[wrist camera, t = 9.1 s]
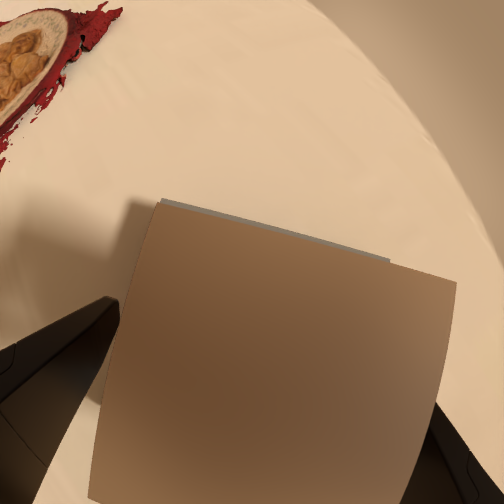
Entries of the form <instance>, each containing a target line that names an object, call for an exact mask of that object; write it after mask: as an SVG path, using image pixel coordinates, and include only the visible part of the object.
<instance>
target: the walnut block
mask: <svg viewBox="0 0 504 504" xmlns="http://www.w3.org/2000/svg"><path fill="white" fill-rule="evenodd" d="M456 284H457V282H454V281H451V280H447V279H444V278H441V277H437V276H434V275H430V274H427V273H424V272H420V271H417V270H413V269H410V268H406V267H403V266H399V265H396V264H392V263H389V262H385V261H382V260H378V259H375V258H371V257H368V256H364V255H360V254H357V253H353V252H350V251H346V250H342V249H339V248H335V247H331V246H328V245H324V244H320V243H317V242H313V241H309V240H305V239H302V238H298V237H294V236H290V235H286V234H283V233H279V232H275V231H271V230H267V229H263V228H260V227H256V226H252V225H248V224H244V223H240V222H236V221H232V220H228V219H224V218H220V217H216V216H212V215H208V214H204V213H200V212H196V211H192V210H188V209H184V208H179V207H175V206H171V205H167V204H163V203H159V202H157V205H156V207H155V210H154V213H153V216H152V219H151V221H150V224H149V227H148V230H147V233H146V236H145V239H144V242H143V245H142V248H141V251H140V254H139V258H138V261H137V264H136V267H135V270H134V274H133V277H132V280H131V284H130V287H129V291H128V294H127V298H126V301H125V305H124V308H123V312H122V316H121V320H120V323H119V327H118V331H117V335H116V339H115V343H114V347H113V351H112V356H111V360H110V364H109V369H108V373H107V378H106V383H105V388H104V392H103V397H102V403H101V408H100V413H99V419H98V425H97V431H96V437H95V443H94V450H93V457H92V464H91V472H90V481H89V490H88V498H89V499H91V500H94V501H96V502H98V503H100V504H399V503H400V501H401V499H402V496H403V494H404V492H405V489H406V487H407V485H408V482H409V480H410V477H411V475H412V472H413V470H414V467H415V464H416V462H417V459H418V456H419V453H420V450H421V448H422V445H423V442H424V439H425V435H426V432H427V429H428V426H429V423H430V419H431V416H432V412H433V409H434V405H435V401H436V398H437V394H438V390H439V386H440V381H441V377H442V373H443V368H444V363H445V359H446V353H447V348H448V343H449V337H450V331H451V324H452V318H453V310H454V303H455V294H456Z"/></svg>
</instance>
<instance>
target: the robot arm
mask: <svg viewBox="0 0 504 504" xmlns="http://www.w3.org/2000/svg"><path fill="white" fill-rule="evenodd" d="M119 323H120V311H119V302H118V300H117V299H115V298H112V297H109V296H104V297H102V298H100V299H98V300H96V301H94V302H92V303H91V304H89V305H87V306H85V307H83V308H81V309H79V310H77V311H75V312H73V313H71V314H69V315H67V316H65V317H63V318H61V319H59V320H58V321H56V322H54V323H52V324H50V325H48V326H46V327H44V328H42V329H40V330H38V331H37V332H35V333H33V334H31V335H29V336H27V337H25V338H23V339H21V340H20V341H18V342H16V343H14V344H12V345H10V346H8V347H6V348H4V349H2V350H0V504H32V503H33V501H34V499H35V497H36V494H37V492H38V490H39V488H40V485H41V483H42V481H43V479H44V477H45V474H46V472H47V470H48V468H49V466H50V463H51V461H52V459H53V457H54V455H55V453H56V451H57V449H58V447H59V445H60V443H61V441H62V439H63V437H64V435H65V433H66V431H67V429H68V427H69V425H70V423H71V421H72V419H73V417H74V415H75V414H76V412H77V410H78V408H79V406H80V404H81V402H82V400H83V398H84V397H85V395H86V393H87V391H88V389H89V387H90V386H91V384H92V382H93V380H94V378H95V377H96V375H97V373H98V371H99V369H100V367H101V365H102V363H103V361H104V359H105V356H106V354H107V352H108V349H109V347H110V345H111V342H112V340H113V338H114V335H115V333H116V331H117V328H118V326H119ZM399 504H504V494H503V493H502V492H501V490H500V489H499V488H498V487H497V485H496V484H495V483H494V482H493V480H492V479H491V478H490V477H489V475H488V474H487V473H486V471H485V470H484V469H483V468H482V466H481V465H480V463H479V462H478V461H477V459H476V458H475V456H474V455H473V453H472V452H471V451H470V449H469V448H468V446H467V445H466V443H465V442H464V440H463V439H462V438H461V436H460V435H459V433H458V432H457V430H456V429H455V428H454V426H453V425H452V423H451V422H450V421H449V419H448V418H447V416H446V415H445V414H444V412H443V411H442V410H441V408H440V407H439V405H438V404H437V403H436V401H435V405H434V409H433V412H432V416H431V419H430V423H429V426H428V429H427V432H426V435H425V439H424V442H423V445H422V448H421V450H420V453H419V456H418V459H417V462H416V464H415V467H414V470H413V472H412V475H411V477H410V480H409V482H408V485H407V487H406V489H405V492H404V494H403V496H402V499H401V501H400V503H399Z"/></svg>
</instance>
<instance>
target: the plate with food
mask: <svg viewBox="0 0 504 504" xmlns="http://www.w3.org/2000/svg"><path fill="white" fill-rule="evenodd" d="M107 3H108V1H106V2H104V3H103V4H100V5H98V8H97V9H96V10H95V11H88V10H87V11H86V14H85V13H84V14H83V13H81V12H80V14H79V13H78V12H77V13H73V12H71V9H69V10H65V11H62V10H60V9H56V8H45V9H37V10H34V11H31V12H29V13H26V14H22V15H20V16H19V17H17V18H16V19H14V20H11V21H7V22H0V137H1V138H0V154H1V152H3V150H4V151H5V150H6V149H7V148H8V147H7V146H8V145H9V144H8V142H9V141H10V140H9V141H8V136H10V135H11V134H12V133H13V132H14V130H16V128H18V124H16V126H15V127H14V129H13V130H11V131H9V129H10V128H12V126H13V124H14V123H15V122H16V121H17V120H18V119H19V118H20V117H21V116H22V115H23V114H24V113H25V112H26V111H27V110H28V109H29V108H30V107H31V106H32V105H33V104H34V103H35V104H36V105H35V106H38V105H39V104H40V106H42V107H41V110H40V112H41V111H42V110H43V109H45V108H46V107H47V106H48V105H49V103H50V101H51V100H52V99H53V97H54V95H55V94H56V92H57V89H58V86H59V85H60V83H62V85H63V87H64V82H65V79H66V74H64V75H63V76H62V75H60V72H61V70H62V68H63V67H64V65H66V64H65V63H66V61H67V60H68V59H71V58H72V59H71V61H72V60H73V61H75V60H76V59H77V60H78V58H79V57H80V55H82V53H81V52H82V50H81V48H79V46H80V42H81V38H80V35H85V39H84V40H85V41H84V43H82V44H83V46H85V47H86V48H87V49H88V50H92V48H93V46H95V45H96V43H98V42H99V41H100V39H101V38H102V36H103V35H104V34H105V33H106V32H107V30H108V27H109V25H110V24H111V20H113V18H118V17H120V14H121V12H122V11H123V7H121V8H119V9H116V10H109V11H107V13H104V12H103V11H101V9H102V7H103V6H104V5H106V4H107ZM67 65H68V64H67ZM67 65H66V66H67ZM66 66H65V67H66ZM57 79H58V80H60V81H59V83H57V84H56V82H57ZM52 88H53V91H52V93H51V94H50V95H49V96H48V97H46V95H47V93H48V92H49V91H50V89H52ZM62 89H63V88H62ZM62 89H61V90H62ZM48 99H49V100H48ZM46 100H48V101H46ZM46 102H47V103H46ZM40 106H39V107H40ZM39 107H38V108H39ZM38 110H39V109H38ZM38 110H37V111H38ZM37 111H36V112H37ZM40 112H38V114H39V113H40ZM38 114H36V115H38ZM37 118H38V117H36V118H34V119H32V121H31V122H30V123H32V122H33V121H34V120H35V119H37ZM22 119H23V118H21V120H22ZM19 124H20V123H19ZM7 131H8V132H7ZM6 132H7V133H6ZM3 134H4V135H3ZM5 138H6V139H7V141H8V142H7V141H4V143H3V140H4V139H5ZM23 138H24V137H23ZM10 145H13V144H10ZM5 161H6V159H5V157H4V158H3V159H2V160H0V172H1V169H2V167H3V165H4V163H5ZM9 162H10V161H9Z"/></svg>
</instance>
